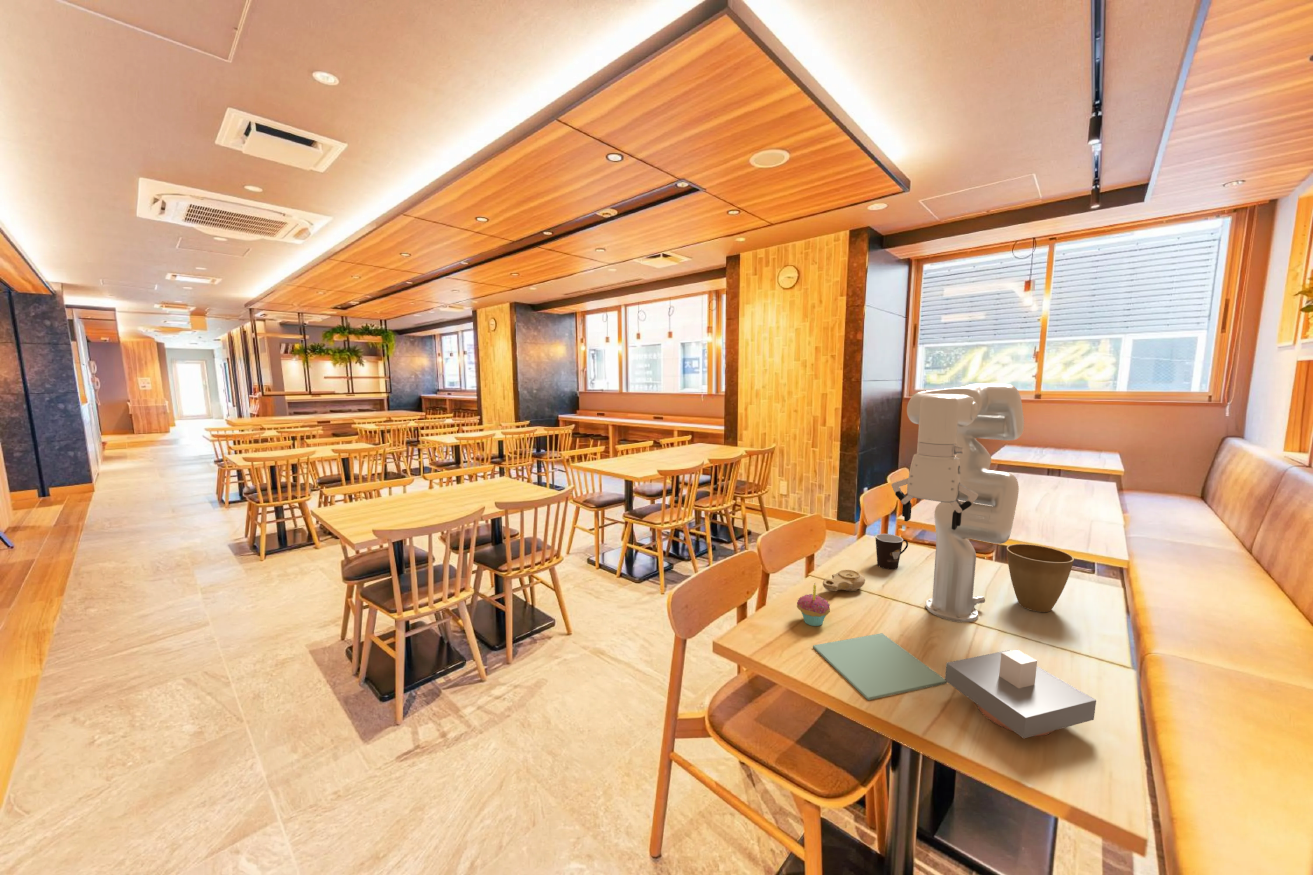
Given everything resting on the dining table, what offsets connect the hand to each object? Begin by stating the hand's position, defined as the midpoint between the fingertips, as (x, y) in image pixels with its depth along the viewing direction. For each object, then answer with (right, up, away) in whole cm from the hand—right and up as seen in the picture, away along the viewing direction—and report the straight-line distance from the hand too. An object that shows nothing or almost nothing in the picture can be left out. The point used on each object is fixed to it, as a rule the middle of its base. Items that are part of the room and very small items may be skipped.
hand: (930, 524), depth 112 cm
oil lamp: (-5, -27, +38) cm, 47 cm away
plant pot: (+45, -28, +27) cm, 59 cm away
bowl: (+8, -35, -16) cm, 39 cm away
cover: (+8, -32, -16) cm, 36 cm away
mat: (-12, -33, +1) cm, 35 cm away
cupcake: (-21, -30, +20) cm, 42 cm away
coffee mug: (+18, -25, +56) cm, 64 cm away
